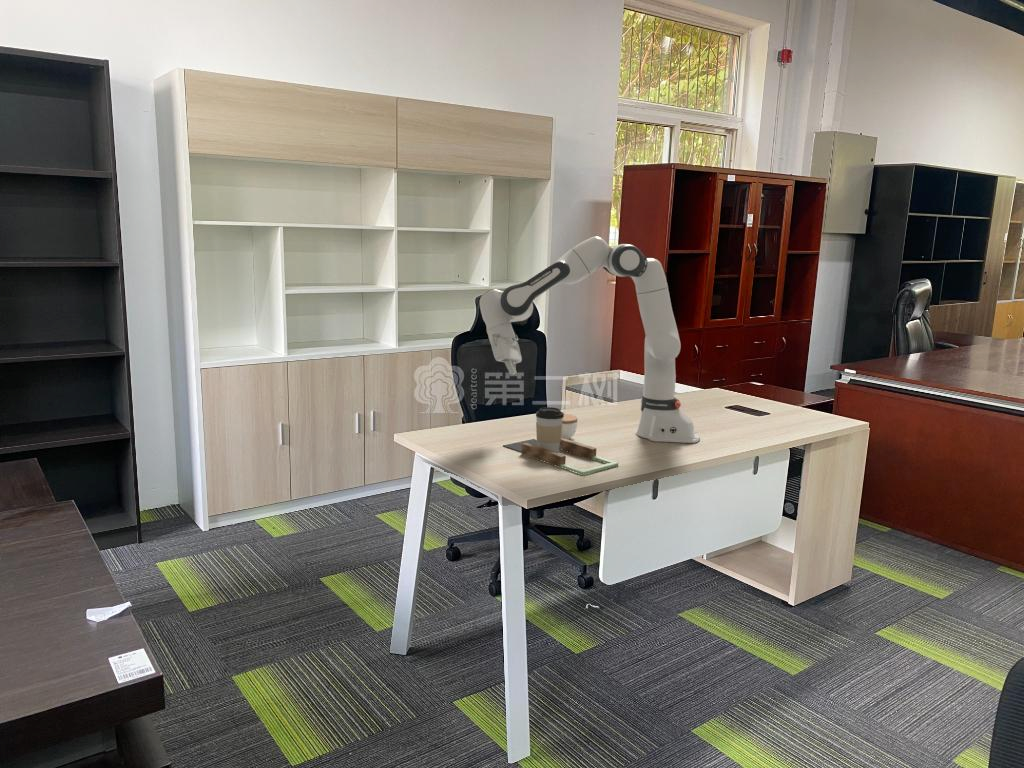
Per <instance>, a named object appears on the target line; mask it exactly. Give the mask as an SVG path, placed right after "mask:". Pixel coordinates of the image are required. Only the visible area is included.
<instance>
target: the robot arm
mask: <svg viewBox="0 0 1024 768" xmlns="http://www.w3.org/2000/svg"><path fill="white" fill-rule="evenodd" d="M599 269H603V270H605V271H606V272H607V273H609V274H611V275H612V276H615V277H618V278H619V277H620V278H623V277H624V278H625V277H630V278H631V280H632V281H633V283H634V286H635V292H636V298H637V303H638V310H639V313H640V317H641V321H642V326H643V330H644V334H645V337H644V348H643V349H644V353H643V354H644V355H643V356H644V357H643V359H644V365H643V367H644V377H643V378H644V379H643V391H642V392H643V395H642V396H641V400H640V411H641V413H640V414H641V415H640V419H639V424H638V426H637V430H636V432H635V433H636V435H637V436H638V437H640V438H645V439H647V440H649V441H651V442H660V443H661V442H664V443H665V442H666V443H687V444H688V443H689V444H695V443H698V442H699V441H700V440H701V438H700V434H699V432H696V431H695V426H694V422H693V420H692V418H691V417H689V416H688V414H686V413H685V412H684V411H682V409H680V407H681V405H682V403H681V401H680V399H679V398H676V397H675V396H676V395H675V392H676V381H677V380H676V377H677V374H676V358H678V356H679V354H680V352H681V345H682V343H681V340H680V334H679V330H678V326H677V323H676V318H675V316H674V311H673V307H672V302H671V297H670V291H669V285H668V282H667V276H666V274H665V270H664V268H663V265H662V263H661V261H659V260H658V259H656V258H653V257H646V256H645V254H643V252H641V250H640V249H639V248H638V247H637V246H635V245H633V244H628V243H620V244H617V245H609V244H608V243H607V242H606V240H605V239H604V238H602V237H600V236H596V235H594V236H592V237H589V238H587V239H585V240H583V241H582V242H581V241H580V242H579V243H578V244H575V246H573V247H571V249H569V250H568V251H566V252H565V253H564V254H562V255H561V256H560V257H559V258H557V260H555V261H554V262H553V263H552V264H550V265H549V266H548V267H546V268H544V269H543V270H541V271H539V273H537V274H535V275H534V276H533V277H531V278H529V279H528V280H526V281H524V282H522V283H517V284H512V285H511V286H508V287H507V288H505V289H504V290H499V288H498V289H497V288H496V289H495V288H494V289H490V290H488V291H486V292H485V293H483V295H481V296H480V299H479V309H480V314H481V316H482V317H481V318H482V320H483V322H484V323H485V326H486V333H487V335H488V336H487V337H488V339H489V344H490V345H491V351H492V354H493V357H494V360H495V361H496V362H501V363H504V365H505V367H506V369H507V370H508V373H509V375H512V376H513V375H517V370H516V369H517V368H516V367H517V366H516V364H519V363H522V359H523V358H522V354H521V349H520V345H519V342H518V341H519V337H518V335H517V334H516V332H515V330H514V328H513V325H512V323H517V322H523V321H526V320H528V319H529V318H530V317H531V316H532V315H533V313H534V304H533V302H534V300H535V299H536V298H538V297H539V296H541V295H542V294H544V293H546V292H547V291H549V290H550V289H551V288H554V287H555V286H557V285H561V284H563V285H570V286H571V285H575V284H578V283H579V282H581V281H583V280H585V279H587V278H588V277H590V275H592V274H593V273H595V272H596V271H597V270H599Z"/></svg>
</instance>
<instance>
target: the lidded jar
mask: <svg viewBox="0 0 1024 768" xmlns="http://www.w3.org/2000/svg"><path fill="white" fill-rule="evenodd" d="M563 416H564V417H563V420H562V433H561V437H562V438H565V439H568V440H569V439H570V440H571V438H572V437H573V436H574V435H575V434H576V430H577V428H578V417H577V416H576V415H572V414H568V413H565V412H564V411H563Z"/></svg>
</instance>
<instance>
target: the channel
mask: <svg viewBox="0 0 1024 768" xmlns="http://www.w3.org/2000/svg"><path fill="white" fill-rule="evenodd" d="M560 449H562V450H561V451H563V450H564V451H563V452H566V451H568V452H567V453H569V452H571V453H570V454H572V453H574V454H573V455H575V454H576V456H578V455H579V456H578V457H582V458H585V457H586V458H585V459H588V458H589V459H588V460H591V459H593V456H597V447H593V446H590V445H587V444H584V443H581V442H577V441H574V440H571V439H570V440H568V439H565V438H562V437H561V441H560V446H559V450H560ZM521 455H523V456H525V457H530V458H532V459H534V458H535V459H534V460H537V459H538V460H537V461H540V460H542V461H541V462H543V461H545V462H544V463H546V462H548V463H547V464H549V463H550V464H549V465H552V464H553V465H552V466H554V465H556V466H555V467H557V466H559V467H558V468H560V467H561V464H566V459H567V458H566V457H567V456H566V455H565V454H562V453H560V452H559V453H556V452H553V451H550V450H547V449H544V448H541V447H538V446H535V445H532V444H529V443H523V444H522V452H521Z"/></svg>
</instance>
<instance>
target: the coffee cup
mask: <svg viewBox="0 0 1024 768" xmlns="http://www.w3.org/2000/svg"><path fill="white" fill-rule="evenodd" d="M563 412H564V411H563ZM563 412H562V411H561V409H560V408H558V407H549V406H548V407H547V406H546V407H541V408H539V409H538V410H537V411H536V412H535V416H536V417H535V419H536V422H535V426H536V427H535V428H536V440H537V446H538V447H541V448H544V449H547V450H550V451H553V452H556V453H559V454H560V449H559V446H560V441H561V433H562V420H563V417H564V416H563Z"/></svg>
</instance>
